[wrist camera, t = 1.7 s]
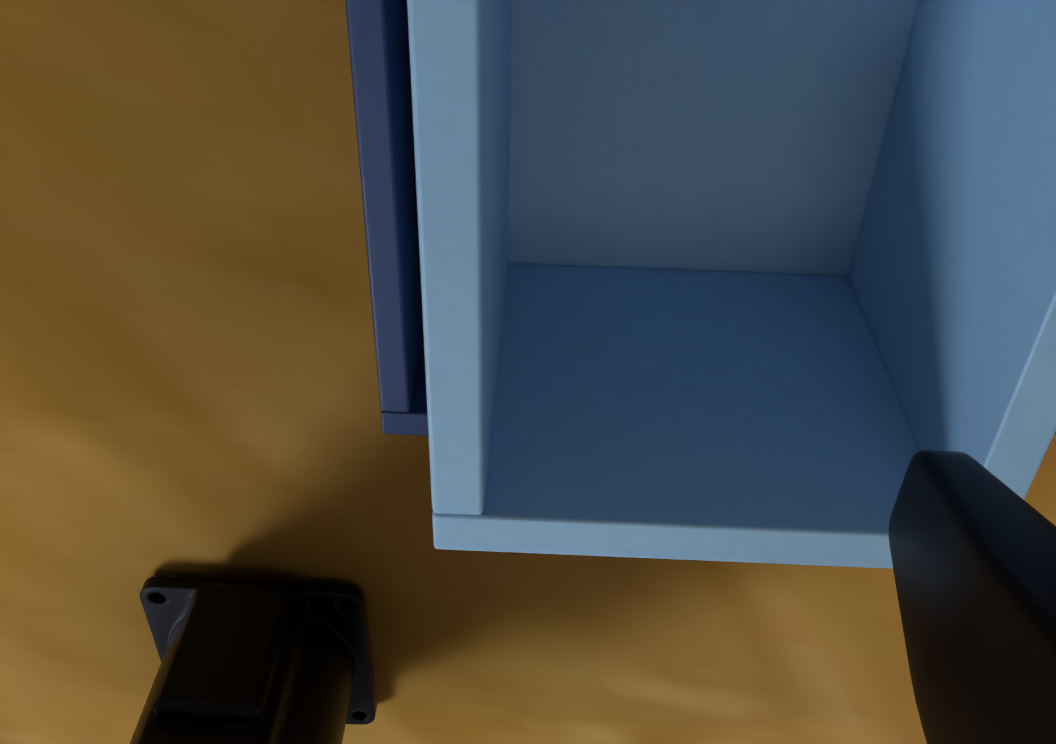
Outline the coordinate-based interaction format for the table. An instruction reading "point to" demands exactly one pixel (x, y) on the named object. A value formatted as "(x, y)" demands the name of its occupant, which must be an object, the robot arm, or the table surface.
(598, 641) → the table surface
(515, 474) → the top bin
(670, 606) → the table surface
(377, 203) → the bottom bin
